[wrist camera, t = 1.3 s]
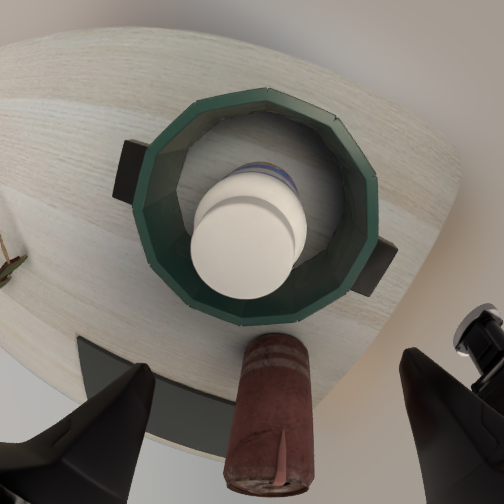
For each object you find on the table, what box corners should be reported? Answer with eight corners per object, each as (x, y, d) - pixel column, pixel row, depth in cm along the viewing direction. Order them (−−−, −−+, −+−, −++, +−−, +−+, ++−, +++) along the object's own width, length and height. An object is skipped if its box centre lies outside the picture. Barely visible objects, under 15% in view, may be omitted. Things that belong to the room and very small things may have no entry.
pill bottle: (263, 248, 20) (250, 336, 12) (207, 202, 19) (149, 261, 11) (314, 195, 18) (344, 254, 10) (255, 144, 17) (230, 153, 9)
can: (313, 330, 23) (325, 479, 11) (302, 374, 26) (304, 499, 13) (245, 325, 24) (217, 474, 11) (244, 371, 26) (223, 495, 14)
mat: (271, 411, 29) (271, 415, 29) (227, 455, 37) (226, 458, 37) (78, 335, 28) (76, 337, 27) (89, 401, 36) (88, 403, 35)
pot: (401, 165, 17) (440, 178, 12) (323, 309, 22) (331, 355, 17) (181, 74, 16) (147, 57, 11) (134, 236, 21) (99, 267, 16)
